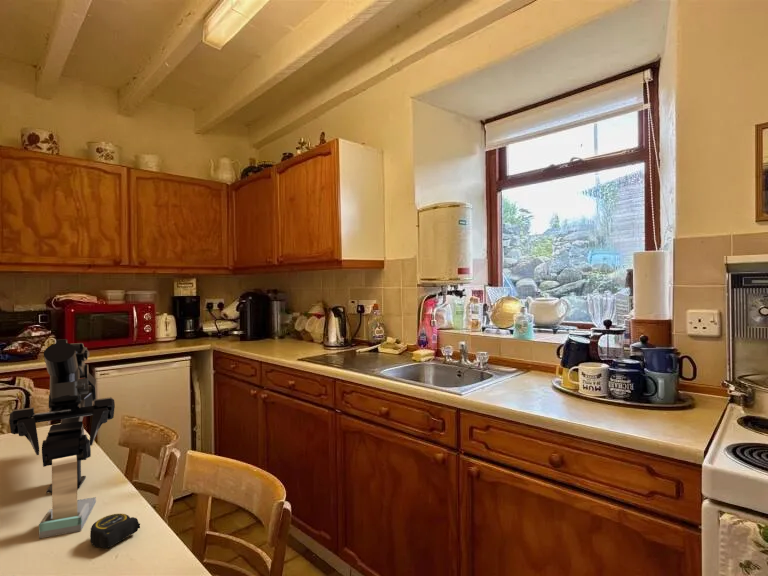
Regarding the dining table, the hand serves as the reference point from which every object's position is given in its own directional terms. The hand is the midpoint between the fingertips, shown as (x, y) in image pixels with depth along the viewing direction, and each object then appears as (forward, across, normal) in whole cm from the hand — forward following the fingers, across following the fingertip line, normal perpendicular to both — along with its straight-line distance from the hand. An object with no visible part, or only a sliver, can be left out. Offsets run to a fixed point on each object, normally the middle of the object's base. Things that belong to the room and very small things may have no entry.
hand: (65, 449), depth 93 cm
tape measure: (+23, +8, -3) cm, 24 cm away
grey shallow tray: (+12, +1, +7) cm, 14 cm away
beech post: (+13, 0, +4) cm, 14 cm away
